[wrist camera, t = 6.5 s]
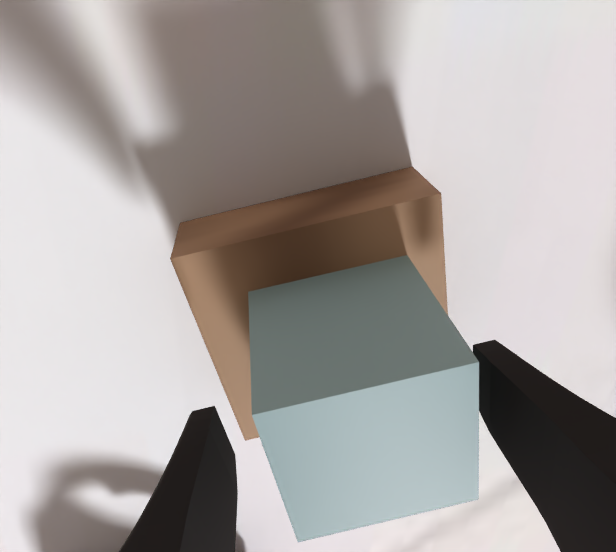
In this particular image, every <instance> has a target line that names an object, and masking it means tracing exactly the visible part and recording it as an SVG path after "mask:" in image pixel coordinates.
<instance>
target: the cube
mask: <svg viewBox="0 0 616 552" xmlns="http://www.w3.org/2000/svg"><path fill="white" fill-rule="evenodd" d="M248 301H249V335H250V370H251V405H252V417H253V420H254V423H255V425H256V428H257V431H258V434H259V436H260V439H261V442H262V445H263V447H264V450H265V453H266V456H267V458H268V461H269V464H270V467H271V469H272V472H273V475H274V478H275V480H276V483H277V486H278V489H279V491H280V494H281V497H282V500H283V502H284V505H285V508H286V511H287V513H288V516H289V519H290V522H291V524H292V527H293V530H294V533H295V535H296V538H297V541H298V542H301V541H306V540H310V539H314V538H318V537H323V536H327V535H331V534H335V533H339V532H344V531H348V530H352V529H356V528H360V527H365V526H369V525H373V524H377V523H382V522H386V521H390V520H394V519H398V518H403V517H407V516H411V515H415V514H419V513H424V512H428V511H432V510H436V509H441V508H445V507H449V506H453V505H457V504H462V503H466V502H470V501H474V500H478V499H479V361H478V360H477V358H476V357H475V355H474V354H473V352H472V351H471V349H470V348H469V346H468V345H467V343H466V342H465V340H464V339H463V337H462V336H461V334H460V333H459V331H458V330H457V328H456V327H455V325H454V324H453V322H452V321H451V320H450V318H449V317H448V315H447V314H446V312H445V311H444V309H443V308H442V306H441V305H440V303H439V302H438V300H437V299H436V297H435V296H434V294H433V293H432V291H431V290H430V288H429V287H428V285H427V284H426V282H425V281H424V279H423V278H422V276H421V275H420V273H419V272H418V270H417V269H416V267H415V266H414V264H413V263H412V261H411V260H410V258H409V257H408V255H405V256H401V257H397V258H392V259H388V260H384V261H379V262H375V263H371V264H366V265H362V266H358V267H353V268H349V269H345V270H340V271H336V272H332V273H327V274H323V275H319V276H314V277H310V278H306V279H301V280H297V281H293V282H288V283H284V284H280V285H275V286H271V287H267V288H262V289H258V290H254V291H249V292H248Z"/></svg>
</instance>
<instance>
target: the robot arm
mask: <svg viewBox="0 0 616 552" xmlns="http://www.w3.org/2000/svg"><path fill="white" fill-rule="evenodd" d="M473 354H474V355H475V357H476V358H477V360H478V361H479V411H480V413H481V416H482V418H483V420H484V422H485V424H486V426H487V428H488V430H489V432H490V433H491V435H492V437H493V438H494V440H495V442H496V443H497V445H498V446H499V448H500V450H501V451H502V453H503V454H504V456H505V458H506V459H507V461H508V462H509V464H510V465H511V467H512V469H513V470H514V472H515V473H516V475H517V476H518V478H519V480H520V481H521V483H522V484H523V486H524V488H525V489H526V491H527V492H528V494H529V495H530V497H531V499H532V500H533V502H534V503H535V505H536V506H537V508H538V510H539V512H540V513H541V515H542V517H543V518H544V520H545V522H546V524H547V526H548V528H549V530H550V531H551V533H552V535H553V537H554V539H555V541H556V543H557V545H558V547H559V549H560V551H561V552H616V418H615V417H613V416H611V415H609V414H607V413H606V412H604V411H602V410H601V409H599V408H597V407H595V406H594V405H592V404H590V403H589V402H587V401H585V400H584V399H582V398H580V397H579V396H577V395H575V394H574V393H572V392H571V391H569V390H568V389H566V388H565V387H563V386H561V385H560V384H558V383H557V382H555V381H554V380H552V379H551V378H549V377H548V376H546V375H545V374H543V373H542V372H540V371H539V370H537V369H536V368H534V367H533V366H532V365H530V364H529V363H527V362H526V361H524V360H523V359H522V358H520V357H519V356H517V355H516V354H515V353H513V352H512V351H510V350H509V349H507V348H506V347H505V346H503V345H502V344H500V343H499V342H497V341H496V340H492V341H488V342H483V343H479V344H475V345H473ZM236 516H237V474H236V461H235V453H234V451H233V449H232V446H231V444H230V441H229V439H228V437H227V434H226V432H225V430H224V427H223V425H222V422H221V420H220V418H219V415H218V413H217V411H216V408H215V406H212V407H208V408H204V409H200V410H195V411H192V413H191V414H190V416H189V418H188V421H187V423H186V425H185V428H184V430H183V432H182V435H181V437H180V439H179V441H178V444H177V446H176V448H175V450H174V452H173V455H172V457H171V459H170V461H169V463H168V465H167V467H166V469H165V471H164V473H163V475H162V477H161V479H160V481H159V483H158V485H157V487H156V489H155V491H154V493H153V495H152V497H151V498H150V500H149V502H148V504H147V506H146V507H145V509H144V511H143V513H142V515H141V516H140V518H139V520H138V522H137V523H136V525H135V527H134V529H133V530H132V532H131V534H130V535H129V537H128V538H127V540H126V542H125V543H124V545H123V546H122V548H121V549H120V551H119V552H235V537H236Z"/></svg>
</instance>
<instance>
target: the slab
mask: <svg viewBox="0 0 616 552" xmlns="http://www.w3.org/2000/svg"><path fill="white" fill-rule="evenodd" d="M405 255H408V257H409V258H410V260H411V261H412V263H413V264H414V266H415V267H416V269H417V270H418V272H419V273H420V275H421V276H422V278H423V279H424V281H425V282H426V284H427V285H428V287H429V288H430V290H431V291H432V293H433V294H434V296H435V297H436V299H437V300H438V302H439V303H440V305H441V306H442V308H443V309H444V311H445V312H446V314H447V315H448V311H447V293H446V275H445V256H444V238H443V220H442V201H441V193H440V192H439V191H438V190H437V189H436V188H435V187H434V186H433V185H431V184H430V183H429V182H428V181H427V180H426V179H425V178H424V177H423V176H422V175H421V174H420V173H419V172H418V171H416V170H415V169H414V168H413V167H409V168H405V169H401V170H397V171H393V172H388V173H384V174H380V175H376V176H372V177H368V178H364V179H359V180H355V181H351V182H347V183H343V184H339V185H335V186H331V187H326V188H322V189H318V190H314V191H310V192H306V193H302V194H297V195H293V196H289V197H285V198H281V199H277V200H273V201H268V202H264V203H260V204H256V205H252V206H248V207H244V208H239V209H235V210H231V211H227V212H223V213H219V214H215V215H210V216H206V217H202V218H198V219H194V220H190V221H186V222H181V223H180V225H179V229H178V232H177V236H176V240H175V243H174V247H173V251H172V254H171V258H170V259H171V262H172V264H173V267H174V269H175V271H176V274H177V276H178V279H179V281H180V284H181V286H182V288H183V291H184V293H185V296H186V298H187V301H188V303H189V305H190V308H191V310H192V313H193V315H194V318H195V320H196V322H197V325H198V327H199V330H200V332H201V335H202V337H203V339H204V342H205V344H206V347H207V349H208V352H209V354H210V356H211V359H212V361H213V364H214V366H215V369H216V371H217V373H218V376H219V378H220V381H221V383H222V386H223V388H224V390H225V393H226V395H227V398H228V400H229V403H230V405H231V407H232V410H233V412H234V415H235V417H236V419H237V422H238V424H239V427H240V429H241V432H242V434H243V436H244V439H245V440H249V439H254V438H258V437H260V436H259V434H258V431H257V428H256V425H255V423H254V420H253V417H252V405H251V370H250V335H249V301H248V292H249V291H254V290H258V289H262V288H267V287H271V286H275V285H280V284H284V283H288V282H293V281H297V280H301V279H306V278H310V277H314V276H319V275H323V274H327V273H332V272H336V271H340V270H345V269H349V268H353V267H358V266H362V265H366V264H371V263H375V262H379V261H384V260H388V259H392V258H397V257H401V256H405Z"/></svg>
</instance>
